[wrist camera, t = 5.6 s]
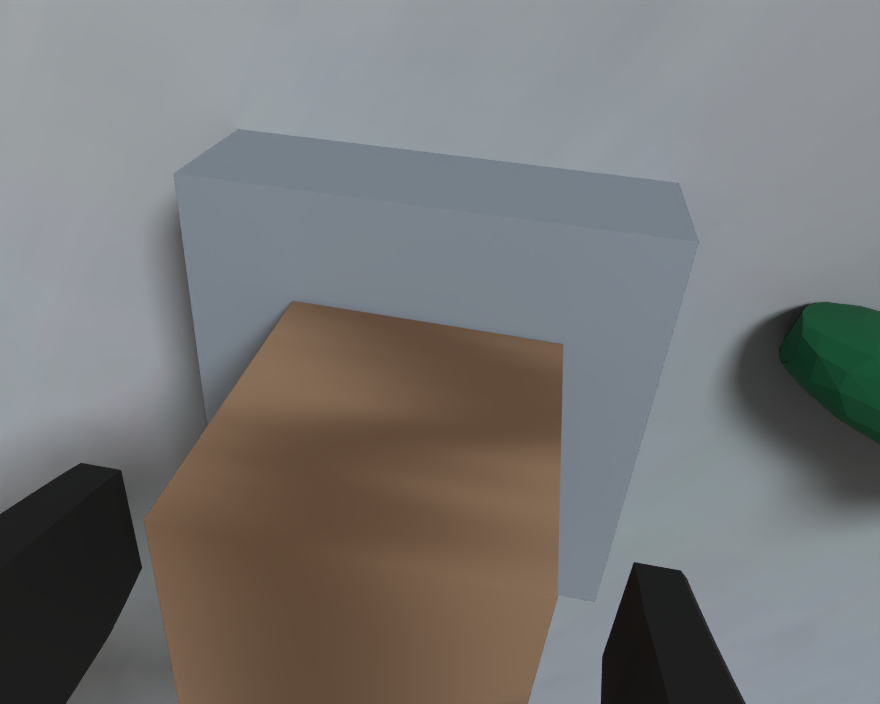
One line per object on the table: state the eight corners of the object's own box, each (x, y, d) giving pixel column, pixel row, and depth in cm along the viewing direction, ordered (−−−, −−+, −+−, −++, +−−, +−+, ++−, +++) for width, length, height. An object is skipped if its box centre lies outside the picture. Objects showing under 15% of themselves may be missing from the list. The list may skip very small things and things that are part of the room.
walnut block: (562, 343, 12) (557, 597, 7) (520, 536, 14) (498, 807, 10) (292, 300, 12) (143, 519, 8) (297, 496, 14) (185, 741, 10)
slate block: (675, 175, 13) (699, 242, 10) (592, 499, 17) (594, 601, 15) (247, 122, 14) (173, 174, 11) (271, 445, 18) (221, 534, 16)
